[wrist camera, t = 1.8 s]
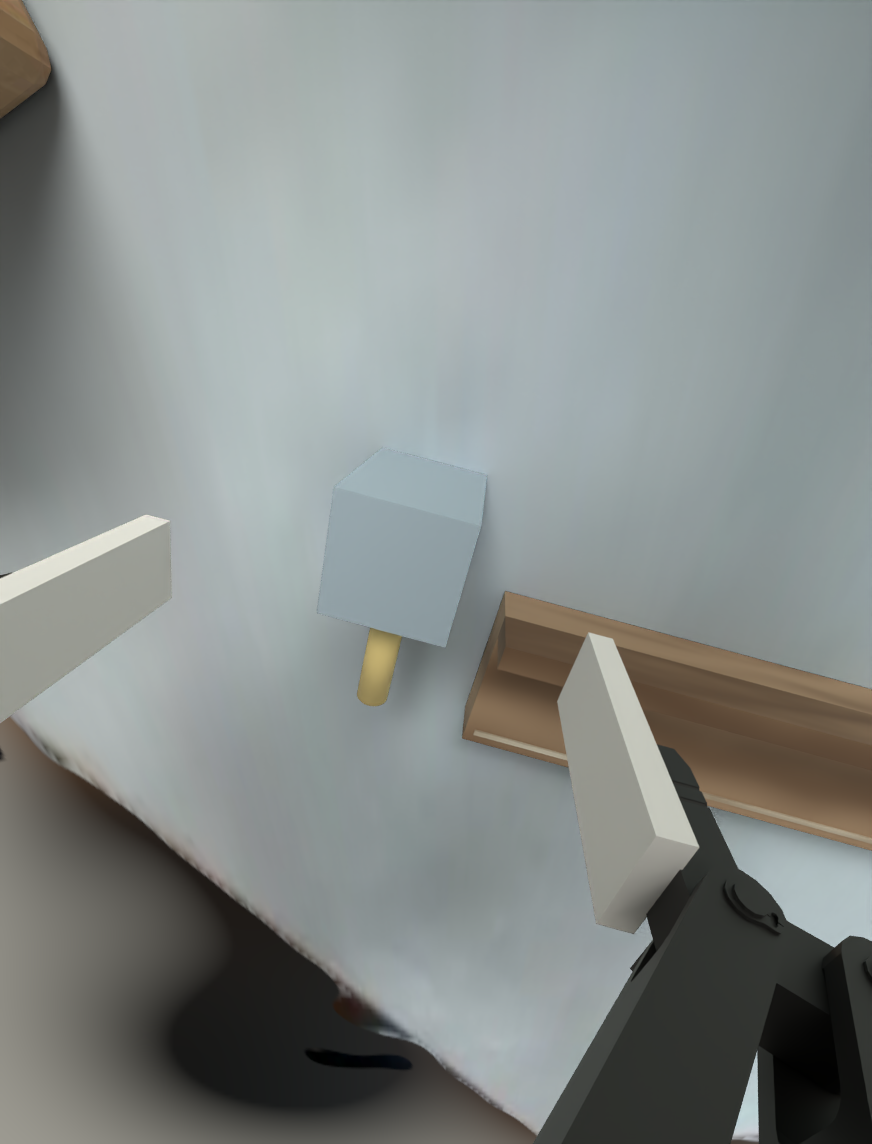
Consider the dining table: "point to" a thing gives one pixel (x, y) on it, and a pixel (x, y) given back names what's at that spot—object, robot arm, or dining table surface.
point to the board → (691, 716)
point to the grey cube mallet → (399, 555)
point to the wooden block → (20, 56)
